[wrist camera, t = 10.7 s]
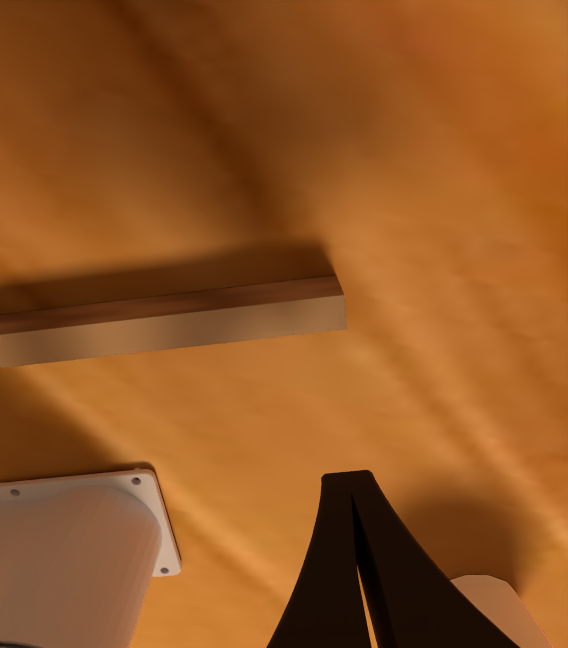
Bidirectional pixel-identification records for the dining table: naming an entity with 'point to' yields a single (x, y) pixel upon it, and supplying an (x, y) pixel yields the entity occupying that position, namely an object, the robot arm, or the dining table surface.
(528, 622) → the foam cup
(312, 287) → the bay
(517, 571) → the dining table surface
